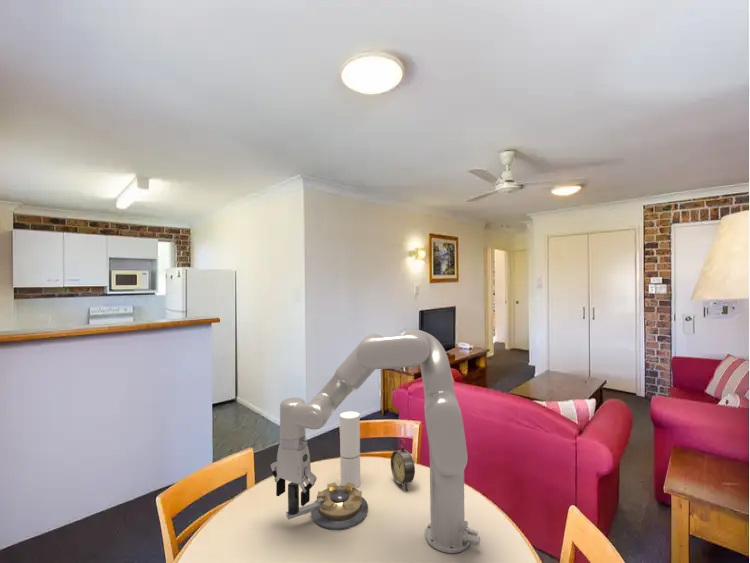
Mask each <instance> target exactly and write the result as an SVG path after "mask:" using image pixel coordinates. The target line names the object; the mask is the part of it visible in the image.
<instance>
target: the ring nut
mask: <svg viewBox="0 0 750 563" xmlns="http://www.w3.org/2000/svg"><path fill="white" fill-rule="evenodd" d="M362 491H363V490H359V489H358V488H355V484H353V483H350V482H348V483H347V484H346V485H341V484H340V485H337V483H336V482H335V481H334V482H331V483H327V487H326V488H325V489H323V490H321V491H320V490H319V491H318V492H317V495H316V500H317V502H315V501H314V502H315V503H314V502H312V503H309V504H307V505H306V504H305V505H304V506H300V485H299V484H296V483H293V482H289V483H288V484H287V511H286V512H285V517H286V519H287V520H291V519H294V518H297V517H300V516H303V515H304V516H305V515H307V514H309V513H310V514H311V512H313V511H316V510H318V512H319V514H320V515H321V516H322V517H324V518H326V519H330V520H344V519H348V518H351V517H353V516H355V515H356V514H357V513H358V512H359V511H360V510H361V507H362V497H363V496H362V493H363V492H362Z"/></svg>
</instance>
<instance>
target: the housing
mask: <svg viewBox="0 0 750 563" xmlns="http://www.w3.org/2000/svg"><path fill="white" fill-rule="evenodd" d="M315 502H317V499H316V500H315V501H314V502H313V503H315ZM368 512H369V504H368V502H367V500H366V499H365V497H363V496H362V507H361V510H360V511H359V512H358V513H357V514H356V515H355V516H353V517H351V518H348V519H344V520H330V519H326V518H324V517H322V516H321V515H320V514H319V512H318V510H316V511H313V512H310V516H311V519H312V521H313V523H315V525H317V526H318V527H320V528H322V529H325V530H330V531H342V530H349V529H351V528H354V527H356V526H358V525H360V524H361V523H362V522H363V521H365V519H366V518H367V516H368V514H367V513H368Z"/></svg>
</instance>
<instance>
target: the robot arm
mask: <svg viewBox="0 0 750 563" xmlns="http://www.w3.org/2000/svg"><path fill="white" fill-rule="evenodd" d="M450 365H451V364H450V360H449V356H448V354H447V352H446V350H445V348H444V346H443V345H442V344H441V342H440V341H439V340H438V339H437V338H436V337H435V336H433V335H432V334H431V333H428V332H426V331H425V330H424V331H423V330H420V329H410V330H407V331H406V332H404V333H403V335H397V336H386V337H384V336H382V335H381V334H378V333H371V334H368V335H366V336H365V337H364V338H363V339H362V340H361V341H360V342H359V343H358V345H357V346H355V348H354V350H352V352H351V353H350V354H349V355H348V356H347V357H346V358H345V360H343V362H341V363H340V365H339V366H338V367H337V369H336V370H335V372H334V375H333V376H332V377H331V378H330V380H329V381H328V382H327V383H326V384H325V385H324V386H323V387H322V389H320V390H319V392H318V393H317V394H316V395H315V396H314V397H313V398H312V399H311V400H310V401H308V402H306V401H305V400H304V399H303V398H301V397H288V398H286V399H283V400H282V401H281V402H280V406H279V445H278V448H277V453H276V454H277V455H276V461H274V462H272V463H271V464H270V468H271V472H272V475H273V477H274V482H275V484H276V486H275V487H276V488H275V489H276V491H275V494H276V497H280V496H282V495H283V494H284V493H286V481H287V482H289V483H291V482H293V483H296V484H299V488H300V489H301V492H300V507H303V506H306V504H308V503H309V502H310V499H311V497H310V493H311V489H312V488H313V487H314V485H315V484H316V481H317V476H316V475H315V474H314V473H313V472H312V469H311V457H310V456H311V455H310V451H309V447H308V440H306V438H307V437H306V434H307V433H306V432H307V431H306V430H307V429H308V430H315V431H316V430H319V429H321V428H323V427H324V426H325V425H326V424H327V422H328V420H329V419H330V417H331V416H332V415H333V413H334V412H335V411H336V410H337V408H338V407H339V406H340V405H341V404H342V403H343V402H344V400H346V398H347V397H348V396H349V395H350V394H352V393H353V392H355V391H357V390H358V389H359V388H361V387H362V385H363V384H365V383H366V381H367V380H368V379H369V377H370V376H371V375H372V374H373V373H374V372H375V371H376V370H388V369H402V368H413V367H416V366H417V367H418V366H419V367H420V373H421V379H422V385H423V386H422V387H423V393H424V419H425V426H426V434H427V435H426V436H427V440H428V448H429V479H430V480H429V493H430V494H429V495H430V496H429V498H430V499H429V502H430V504H429V505H430V506H429V507H430V508H429V510H430V513H429V514H430V523H428V525H427V526H426V528H425V531H424V532H425V533H424V534H425V535H424V536H425V539H426V542H427V543H428V544H429V545H430V546H431V547H432V548H433V549H435V550H437V551H440V552H443V553H446V554H447V553H448V554H456V553H457V554H458V553H460V552H464V551H465V550H467V549H468V548H469V546H470V544H473V545H477V546H480V542H481V537H480V536H478V535H479V534H478V533H479V532H478V531H477V530H474V529H470V527H469V526H468V525H469V524H468V523H469V522H468V521H467V520H465V468H466V467H467V464H468V449H467V440H466V435H465V427H464V421H463V420H464V419H463V415H462V410H461V407H460V405H459V404H460V403H459V401H458V399H457V396H456V393H455V387H454V380H453V379H454V378H453V376H452V369H451V366H450Z"/></svg>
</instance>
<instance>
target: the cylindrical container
mask: <svg viewBox="0 0 750 563" xmlns="http://www.w3.org/2000/svg"><path fill="white" fill-rule="evenodd" d="M360 414H361V413H360V412H357V411H353V410H351V411H344V412H341V413H340V414H339V439H340V440H339V441H340V442H339V444H340V445H339V447H340V448H339V451H340V453H339V454H340V456H339V457H340V460H339V461H340V463H339V464H340V470H339V471H340V485H346V484H347V483H348V482H350V483H353V484H355V488H356V489H358V488H359V487H360V486H361V438H360V437H361V432H360V431H361V428H360V427H361V426H360V425H361V424H360V423H361V422H360V419H361V418H360ZM358 486H359V487H358Z"/></svg>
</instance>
